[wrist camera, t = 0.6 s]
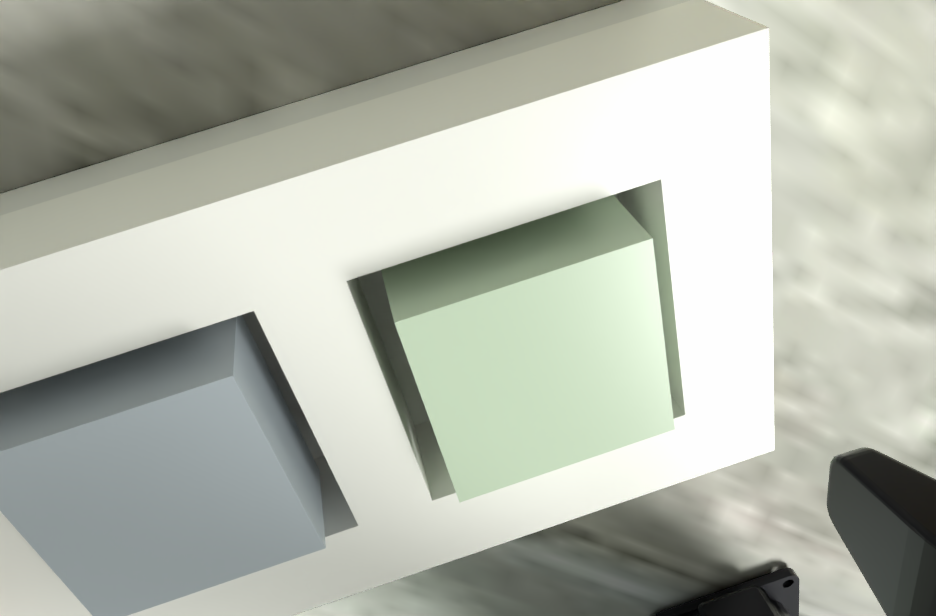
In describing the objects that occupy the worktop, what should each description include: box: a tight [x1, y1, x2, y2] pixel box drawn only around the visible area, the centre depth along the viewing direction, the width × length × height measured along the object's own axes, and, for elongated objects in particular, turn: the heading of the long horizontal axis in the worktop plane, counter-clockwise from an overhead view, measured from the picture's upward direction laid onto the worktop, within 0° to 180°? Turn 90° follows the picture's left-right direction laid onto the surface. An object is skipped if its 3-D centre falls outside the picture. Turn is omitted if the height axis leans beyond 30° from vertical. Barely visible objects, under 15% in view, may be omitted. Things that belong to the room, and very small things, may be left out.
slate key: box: [0, 315, 326, 616], centre depth 18 cm, size 6×6×3 cm
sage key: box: [381, 195, 675, 502], centre depth 19 cm, size 6×6×3 cm
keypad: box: [0, 0, 774, 616], centre depth 20 cm, size 12×30×4 cm, turn 104°
